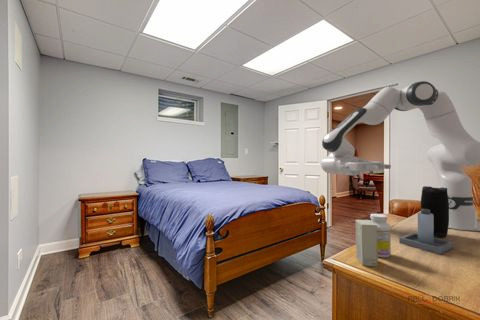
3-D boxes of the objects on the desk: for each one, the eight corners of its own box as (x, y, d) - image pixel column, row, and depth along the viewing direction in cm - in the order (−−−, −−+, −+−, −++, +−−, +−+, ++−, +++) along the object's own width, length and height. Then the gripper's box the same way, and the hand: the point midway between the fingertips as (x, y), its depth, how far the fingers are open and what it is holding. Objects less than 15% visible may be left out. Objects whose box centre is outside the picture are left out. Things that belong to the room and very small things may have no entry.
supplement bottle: (370, 248, 78) (370, 211, 78) (393, 254, 74) (393, 215, 73) (363, 253, 74) (364, 215, 74) (387, 260, 69) (387, 219, 69)
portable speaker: (451, 235, 91) (451, 187, 91) (444, 240, 86) (445, 189, 86) (424, 229, 98) (425, 185, 98) (417, 234, 93) (417, 187, 93)
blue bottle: (420, 241, 84) (420, 207, 84) (435, 244, 80) (435, 209, 80) (415, 243, 81) (415, 209, 81) (431, 247, 78) (431, 211, 78)
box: (413, 237, 89) (413, 232, 89) (453, 248, 78) (453, 242, 78) (399, 243, 83) (399, 237, 83) (440, 255, 73) (440, 248, 73)
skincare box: (378, 267, 65) (378, 225, 65) (361, 265, 66) (361, 224, 66) (370, 257, 71) (370, 219, 71) (355, 256, 72) (355, 218, 72)
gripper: (338, 159, 99) (370, 159, 87) (364, 159, 110) (396, 159, 98) (338, 173, 99) (370, 175, 87) (364, 172, 110) (396, 173, 98)
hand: (384, 167), depth 93 cm, fingers open, 8 cm apart
